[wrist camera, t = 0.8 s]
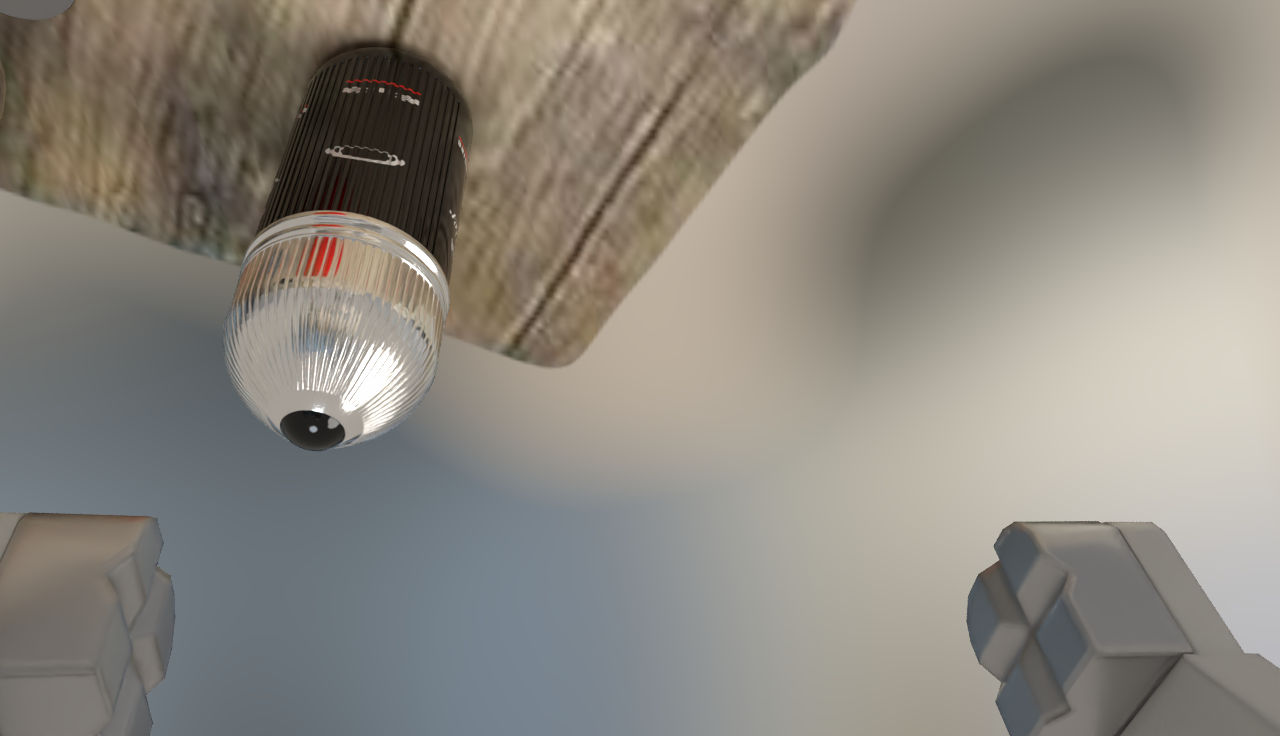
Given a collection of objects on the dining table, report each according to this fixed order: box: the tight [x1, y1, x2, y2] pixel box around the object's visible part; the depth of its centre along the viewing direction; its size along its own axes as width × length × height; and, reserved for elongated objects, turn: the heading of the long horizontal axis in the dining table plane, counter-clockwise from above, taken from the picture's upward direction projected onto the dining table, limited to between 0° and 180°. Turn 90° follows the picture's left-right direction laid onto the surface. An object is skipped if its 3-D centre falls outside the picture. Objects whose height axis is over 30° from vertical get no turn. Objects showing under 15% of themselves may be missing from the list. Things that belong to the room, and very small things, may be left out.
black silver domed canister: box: [222, 47, 473, 451], centre depth 55 cm, size 10×10×25 cm
